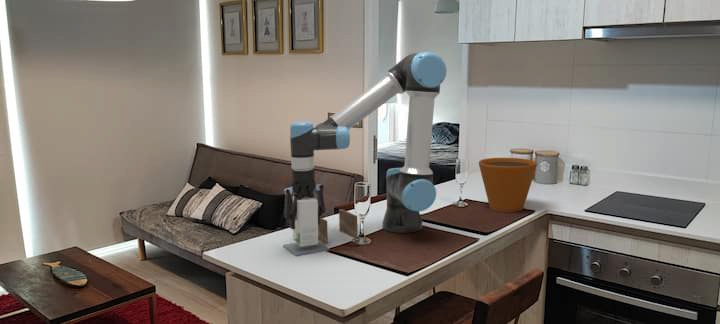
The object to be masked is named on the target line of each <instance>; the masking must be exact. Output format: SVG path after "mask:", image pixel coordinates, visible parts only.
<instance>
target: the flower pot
mask: <svg viewBox="0 0 720 324" xmlns="http://www.w3.org/2000/svg"><path fill="white" fill-rule="evenodd" d="M537 165H538V163H537V161H536V160H533V159H528V158H522V157H521V158H519V157H490V158H488V157H487V158H484V159H480V160H479V161H478V166H479V170H480V174H481V178H482V181H483V185H484V189H485V190H484V191H485V194H486V198H487V202H488V206H489V208H490V210H491V211H495V212H499V213H500V212H501V213H513V212H520V211H522V210H523V209H524V207H525V204H526V200H527V197H528V195H529V192H530V190H531V189H530V188H531V184H532V182H533V180H534V175H535V172H536V169H537Z"/></svg>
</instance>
